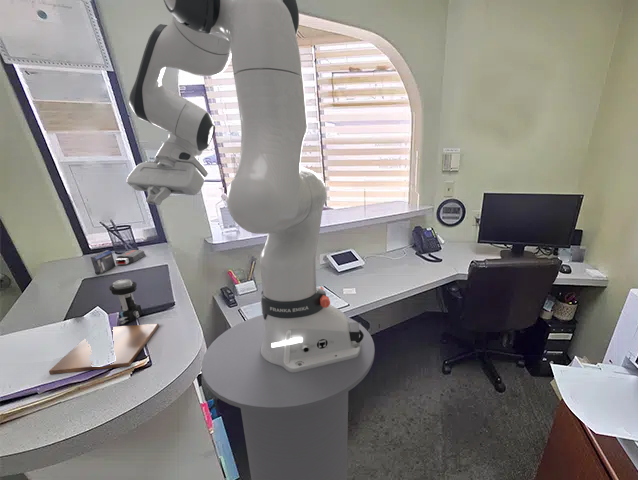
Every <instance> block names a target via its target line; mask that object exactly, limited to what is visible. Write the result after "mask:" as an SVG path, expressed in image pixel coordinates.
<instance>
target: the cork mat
mask: <svg viewBox="0 0 638 480" xmlns="http://www.w3.org/2000/svg"><path fill="white" fill-rule="evenodd" d="M159 326H160V325H159V323H147V324H135V325H134V324H133V325H121V326H112V327H113V330H112V331H113V341H114V351H115V355H116V361H115V362H114V363H112V364H110V365H109V366H105V367H92V366H91V365H94V364H91V363H93V361H91V362H90V360H89V359H90V358H89V357H90V356H89V355H91V354H92V353H91V352H92V350H91V346H90V344H88V341H87V342H86V339H85V337H84V338H83V339H84V340H83V339H82V340H81V341H80V342H78V344H76V345H75V346H74V347H73V348H72V349H71V350H70V351H69V352H68V353H66V354H65V355H64V356H63V357H62V358H61V359H60V360H59V361H58V362H57V363H55V365H53V367H51V368H50V369H49V370H48V373H49V375H56V374H58V375H59V374H67V373H76V372H84V371H86V372H87V371H96V370H105V369H114V368H124V367H130V366H131V364H132V363H134V361H135V359H136V358H137V356H138V355H139V354H140V353H141V352H142V350H143V348H144V347H145V346H146V345H147V343H148V342H149V340H151V338H152V336H153V335H154V333H155V332H156V331H157V330H158V328H159ZM88 346H89V347H88ZM90 351H91V352H90Z"/></svg>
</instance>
